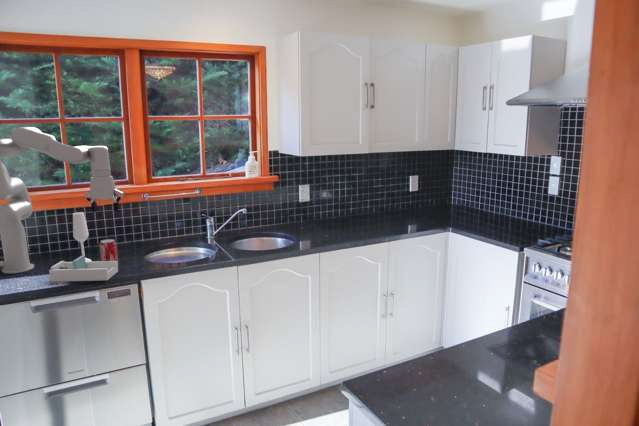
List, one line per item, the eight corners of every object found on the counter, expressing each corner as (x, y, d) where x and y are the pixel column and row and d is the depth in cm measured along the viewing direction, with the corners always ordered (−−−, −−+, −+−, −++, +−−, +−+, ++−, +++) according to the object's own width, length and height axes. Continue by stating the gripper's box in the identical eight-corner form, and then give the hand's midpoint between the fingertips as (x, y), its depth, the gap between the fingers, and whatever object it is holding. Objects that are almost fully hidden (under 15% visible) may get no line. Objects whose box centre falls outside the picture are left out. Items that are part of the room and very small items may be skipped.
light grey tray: (50, 281, 199) (48, 268, 198) (64, 272, 211) (63, 259, 209) (107, 280, 200) (106, 266, 198) (118, 271, 211) (117, 258, 210)
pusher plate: (74, 276, 201) (72, 261, 199) (83, 270, 209) (81, 255, 207) (77, 276, 201) (75, 261, 199) (86, 270, 209) (84, 255, 207)
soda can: (113, 264, 222) (111, 237, 219) (121, 267, 217) (118, 240, 215) (99, 268, 217) (96, 241, 214) (106, 271, 212) (103, 243, 210)
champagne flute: (84, 263, 223) (78, 214, 218) (73, 262, 225) (67, 214, 220) (94, 259, 229) (89, 212, 225) (83, 258, 231) (78, 211, 227)
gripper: (78, 175, 205) (82, 213, 208) (117, 174, 205) (121, 212, 208) (86, 173, 212) (90, 210, 215) (124, 172, 212) (128, 209, 215)
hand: (105, 211), depth 212 cm, fingers open, 9 cm apart
